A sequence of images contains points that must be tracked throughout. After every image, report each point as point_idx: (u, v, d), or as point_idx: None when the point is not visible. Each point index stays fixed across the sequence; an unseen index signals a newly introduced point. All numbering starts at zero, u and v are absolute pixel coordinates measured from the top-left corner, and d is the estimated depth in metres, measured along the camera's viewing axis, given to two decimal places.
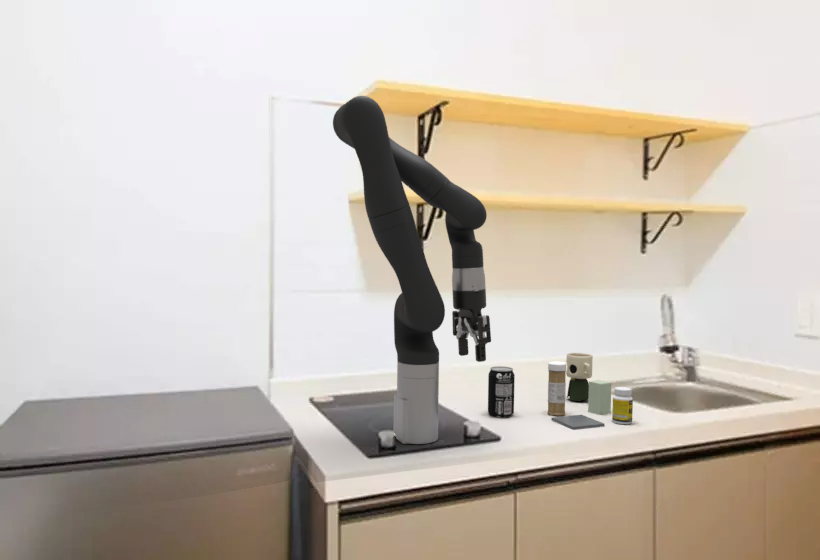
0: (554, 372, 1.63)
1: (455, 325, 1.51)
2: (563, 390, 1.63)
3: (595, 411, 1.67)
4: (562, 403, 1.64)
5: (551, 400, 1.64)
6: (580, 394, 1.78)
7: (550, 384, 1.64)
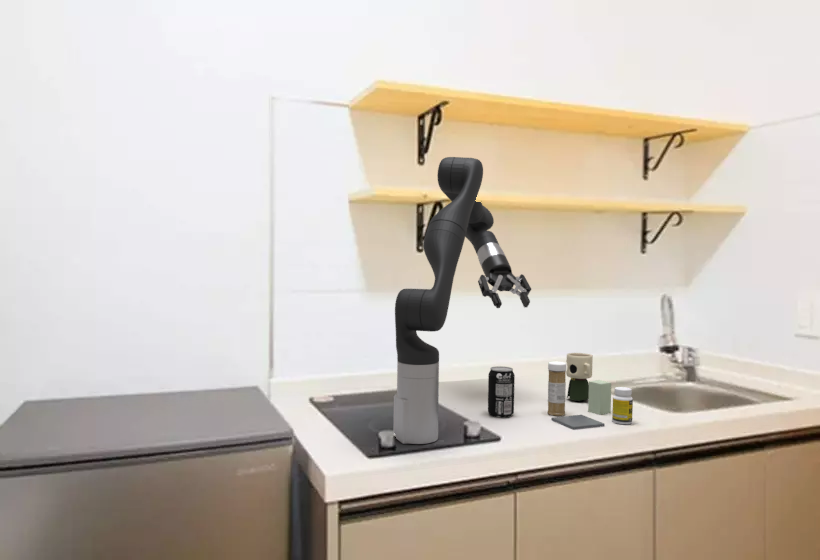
0: (554, 372, 1.63)
1: None
2: (563, 390, 1.63)
3: (595, 411, 1.67)
4: (562, 403, 1.64)
5: (551, 400, 1.64)
6: (580, 394, 1.78)
7: (550, 384, 1.64)
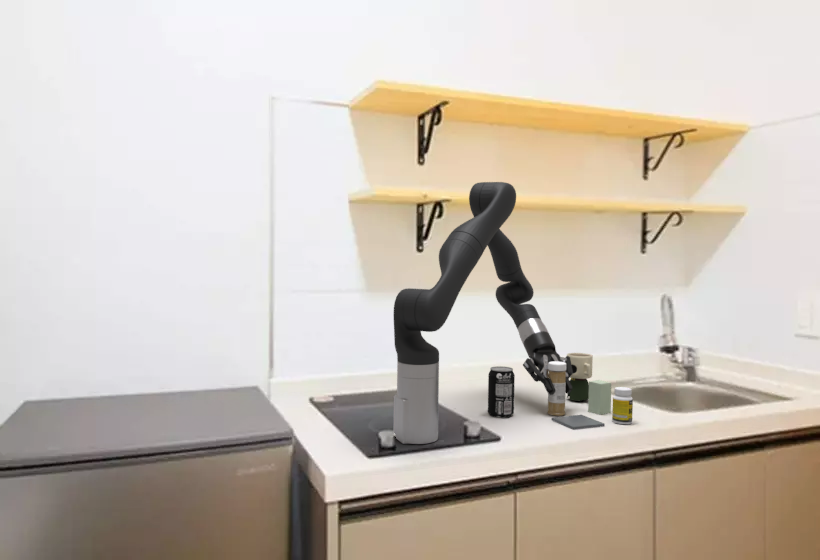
0: (554, 372, 1.63)
1: None
2: (563, 390, 1.63)
3: (595, 411, 1.67)
4: (562, 403, 1.64)
5: (551, 400, 1.64)
6: (580, 394, 1.78)
7: None
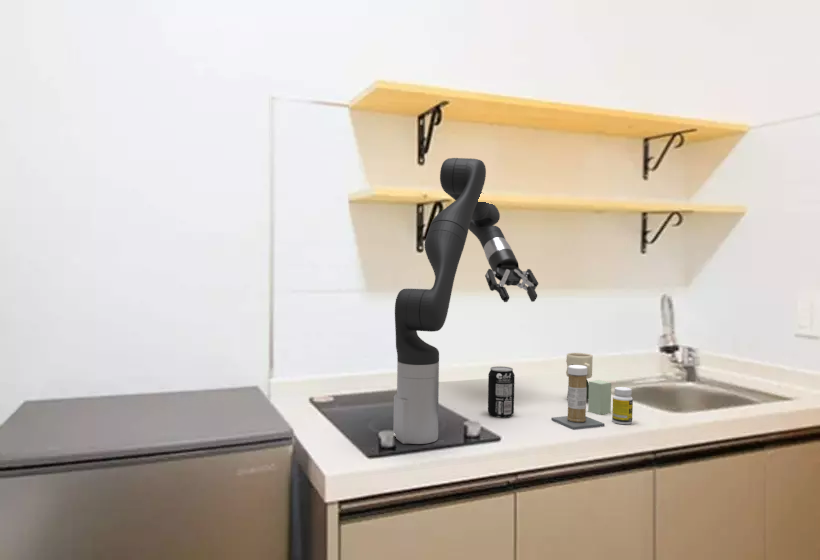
0: (575, 376, 1.55)
1: None
2: (584, 395, 1.55)
3: (595, 411, 1.67)
4: (583, 409, 1.55)
5: (571, 406, 1.56)
6: None
7: (570, 389, 1.56)
